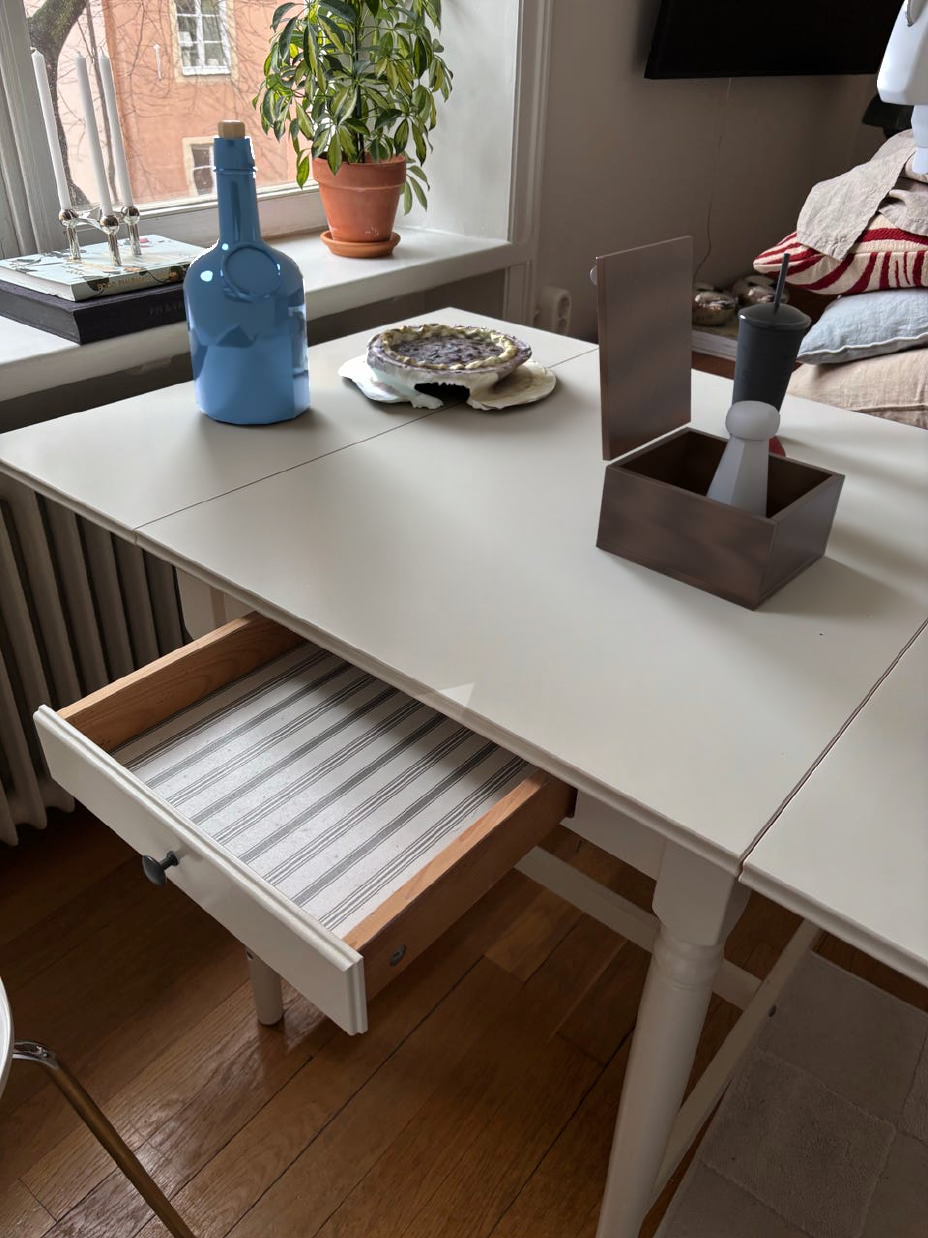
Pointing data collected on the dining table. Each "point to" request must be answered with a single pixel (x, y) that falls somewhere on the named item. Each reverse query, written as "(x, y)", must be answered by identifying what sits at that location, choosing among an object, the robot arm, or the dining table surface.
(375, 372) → the pie
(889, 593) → the dining table surface
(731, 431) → the salt shaker
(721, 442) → the chest
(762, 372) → the drinking cup
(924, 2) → the robot arm
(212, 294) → the wine bottle
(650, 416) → the chest lid
